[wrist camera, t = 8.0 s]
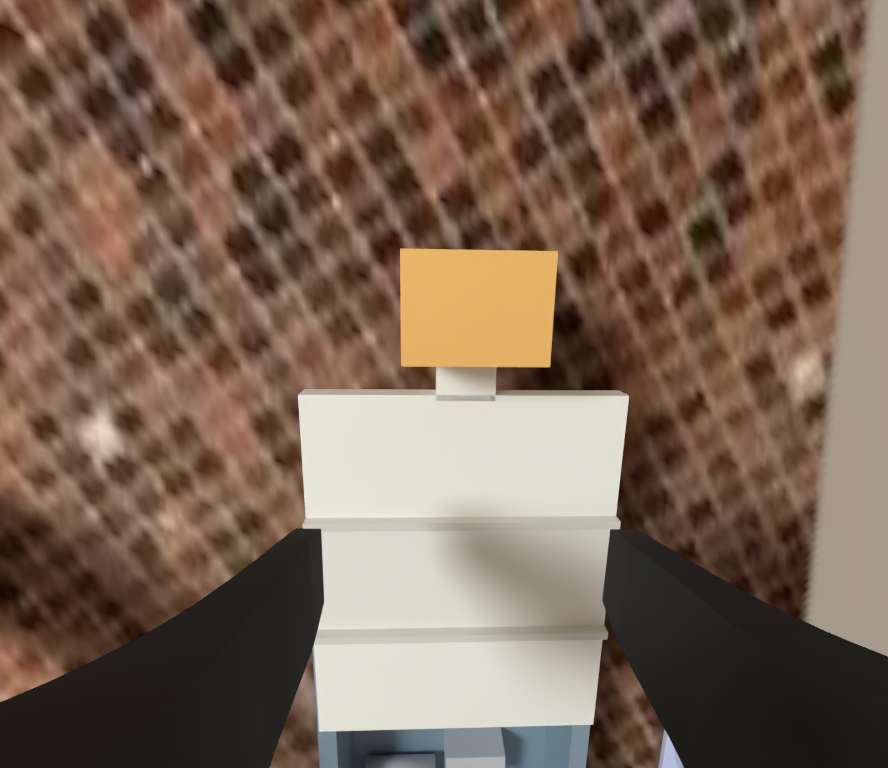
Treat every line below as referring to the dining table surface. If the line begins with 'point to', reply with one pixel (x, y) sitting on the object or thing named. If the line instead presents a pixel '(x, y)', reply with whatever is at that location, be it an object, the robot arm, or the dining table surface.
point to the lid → (463, 514)
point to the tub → (455, 747)
